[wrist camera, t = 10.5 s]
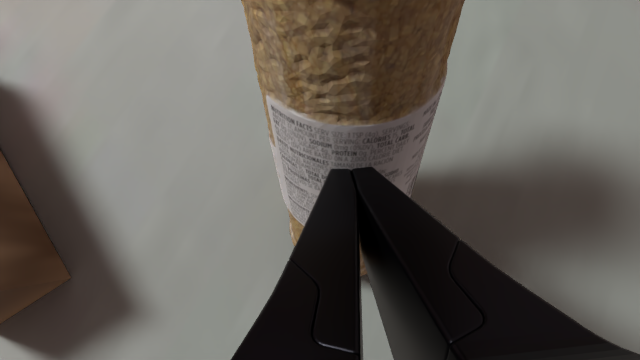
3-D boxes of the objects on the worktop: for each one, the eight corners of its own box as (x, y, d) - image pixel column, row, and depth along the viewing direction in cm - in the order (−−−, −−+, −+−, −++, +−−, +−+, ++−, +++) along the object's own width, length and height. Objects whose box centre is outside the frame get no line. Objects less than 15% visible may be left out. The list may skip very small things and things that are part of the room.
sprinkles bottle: (320, 170, 17) (285, -315, 6) (415, 206, 16) (591, -330, 5) (269, 254, 15) (67, -283, 4) (376, 303, 13) (540, -293, 2)
